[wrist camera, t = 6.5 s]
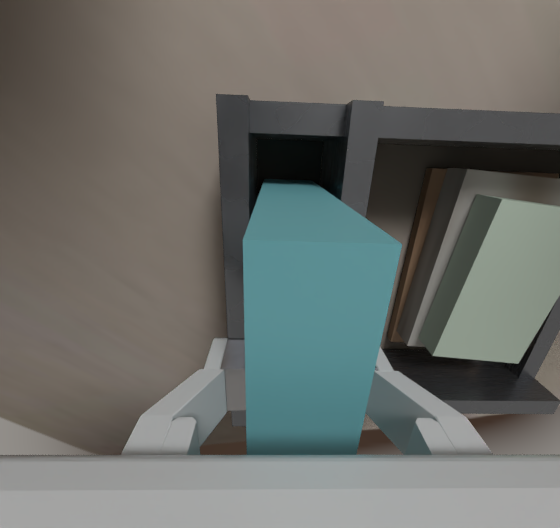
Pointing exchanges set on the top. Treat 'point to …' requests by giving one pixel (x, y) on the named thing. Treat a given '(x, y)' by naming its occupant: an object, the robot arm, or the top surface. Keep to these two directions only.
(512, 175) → the middle offcut
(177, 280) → the top surface
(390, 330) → the lower offcut
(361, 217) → the teal panel
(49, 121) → the top surface
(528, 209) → the upper offcut
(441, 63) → the top surface
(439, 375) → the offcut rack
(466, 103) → the top surface
